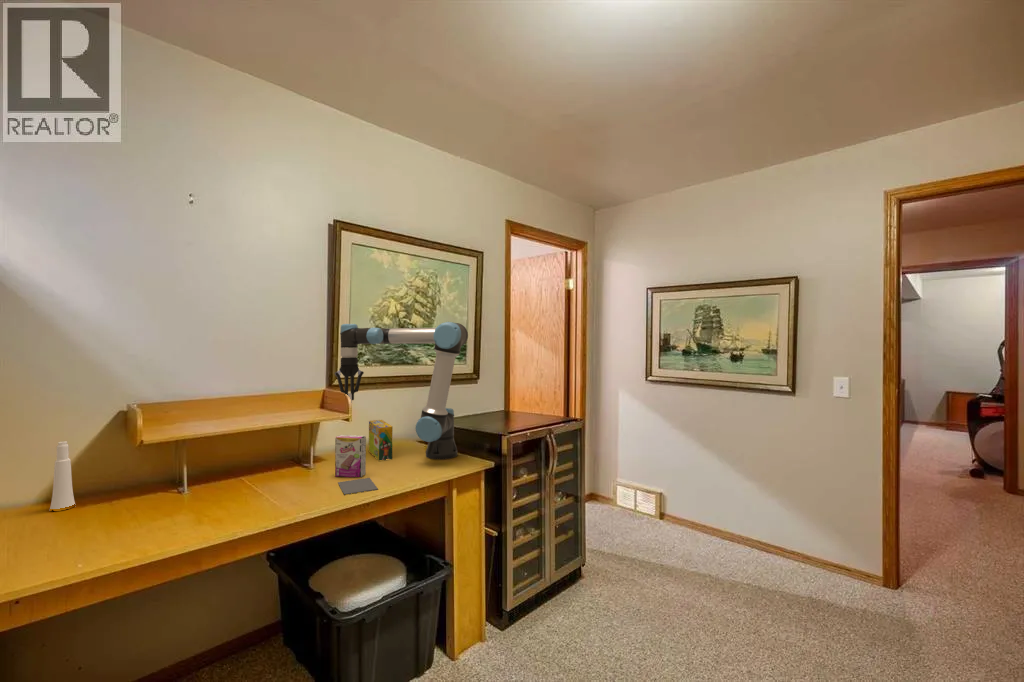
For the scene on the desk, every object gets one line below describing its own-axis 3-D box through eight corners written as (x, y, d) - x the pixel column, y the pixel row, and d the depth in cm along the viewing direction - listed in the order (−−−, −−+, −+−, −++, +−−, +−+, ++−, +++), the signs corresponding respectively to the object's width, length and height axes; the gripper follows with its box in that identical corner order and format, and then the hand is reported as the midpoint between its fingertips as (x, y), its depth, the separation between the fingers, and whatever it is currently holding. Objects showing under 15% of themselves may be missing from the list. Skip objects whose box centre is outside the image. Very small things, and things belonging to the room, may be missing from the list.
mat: (369, 478, 179) (369, 477, 179) (378, 489, 166) (378, 488, 166) (337, 483, 173) (337, 482, 173) (344, 495, 160) (344, 494, 160)
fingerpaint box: (393, 459, 208) (393, 425, 208) (378, 461, 205) (378, 427, 204) (382, 450, 224) (382, 419, 224) (368, 452, 221) (368, 420, 221)
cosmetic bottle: (78, 507, 148) (78, 441, 148) (53, 513, 143) (52, 445, 142) (71, 503, 151) (71, 439, 151) (46, 509, 146) (46, 442, 146)
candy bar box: (334, 477, 181) (334, 437, 181) (340, 473, 186) (340, 434, 186) (360, 478, 180) (361, 437, 180) (366, 474, 185) (366, 435, 185)
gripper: (361, 356, 215) (362, 405, 214) (333, 357, 208) (333, 407, 208) (365, 356, 208) (365, 407, 208) (335, 357, 201) (335, 409, 201)
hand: (349, 407), depth 208 cm, fingers closed
